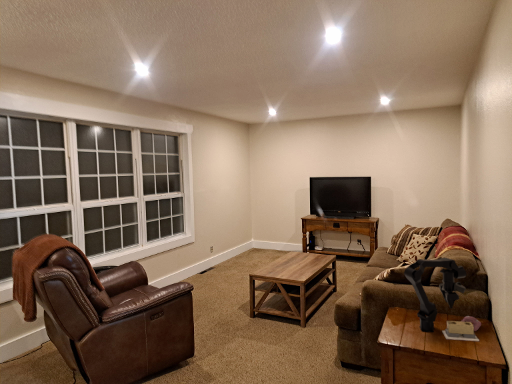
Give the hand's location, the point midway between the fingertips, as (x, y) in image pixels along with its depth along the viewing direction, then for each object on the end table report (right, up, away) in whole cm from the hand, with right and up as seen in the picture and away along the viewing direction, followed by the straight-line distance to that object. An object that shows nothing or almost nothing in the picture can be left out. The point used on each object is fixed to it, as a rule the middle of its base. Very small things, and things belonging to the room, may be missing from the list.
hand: (448, 305), depth 205 cm
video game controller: (+11, -12, -3) cm, 17 cm away
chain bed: (-1, -13, -13) cm, 18 cm away
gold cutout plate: (-1, -11, -13) cm, 17 cm away
